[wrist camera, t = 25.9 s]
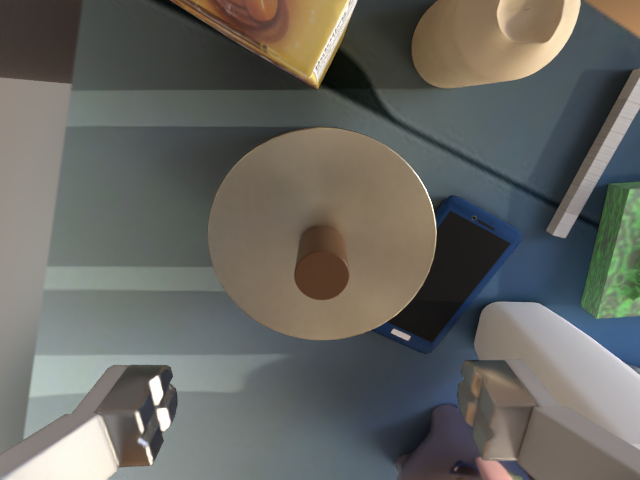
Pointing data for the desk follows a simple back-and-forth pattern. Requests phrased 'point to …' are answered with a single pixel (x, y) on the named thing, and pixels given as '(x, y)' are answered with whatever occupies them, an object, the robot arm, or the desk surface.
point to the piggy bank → (453, 454)
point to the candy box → (281, 30)
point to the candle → (489, 39)
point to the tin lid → (322, 233)
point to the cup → (564, 364)
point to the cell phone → (453, 273)
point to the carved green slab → (616, 256)
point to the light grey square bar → (598, 157)
